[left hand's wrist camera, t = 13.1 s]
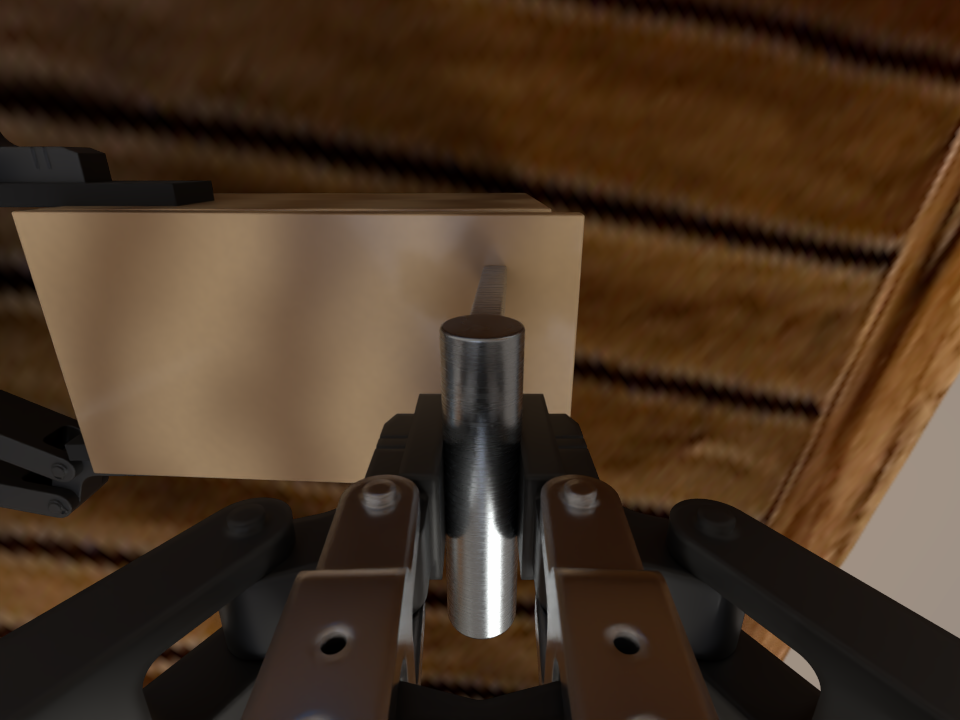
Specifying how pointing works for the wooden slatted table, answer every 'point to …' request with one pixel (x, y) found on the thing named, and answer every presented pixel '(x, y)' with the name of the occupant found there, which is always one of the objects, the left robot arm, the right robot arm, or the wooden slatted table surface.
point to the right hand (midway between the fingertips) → (220, 324)
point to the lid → (317, 350)
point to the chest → (353, 202)
